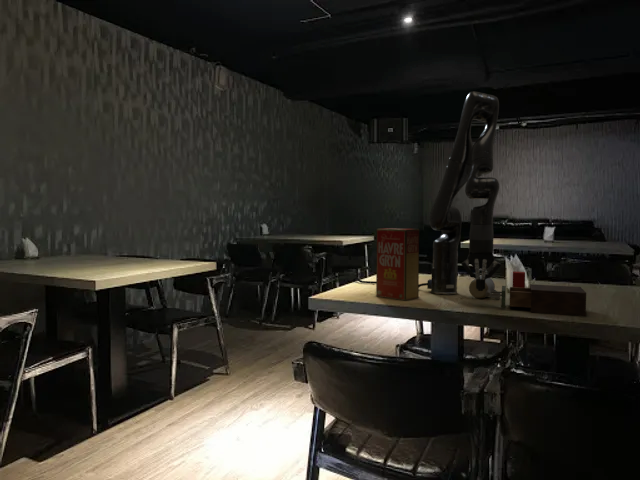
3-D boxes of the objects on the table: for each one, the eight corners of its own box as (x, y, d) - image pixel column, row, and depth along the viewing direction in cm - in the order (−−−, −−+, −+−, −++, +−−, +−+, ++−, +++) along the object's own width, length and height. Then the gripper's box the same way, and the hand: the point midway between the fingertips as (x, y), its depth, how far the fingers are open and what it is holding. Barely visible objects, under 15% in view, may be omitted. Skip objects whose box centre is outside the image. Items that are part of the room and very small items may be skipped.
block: (512, 300, 172) (512, 272, 172) (512, 299, 176) (512, 271, 176) (524, 301, 171) (525, 273, 170) (524, 299, 175) (524, 271, 174)
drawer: (484, 305, 158) (485, 289, 158) (486, 300, 169) (486, 284, 168) (549, 310, 151) (550, 293, 151) (546, 304, 162) (547, 288, 161)
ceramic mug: (467, 297, 178) (468, 276, 177) (473, 294, 184) (474, 274, 184) (497, 301, 172) (498, 279, 171) (503, 298, 179) (504, 277, 178)
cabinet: (530, 312, 153) (531, 289, 152) (529, 305, 164) (529, 284, 164) (585, 316, 147) (586, 292, 147) (579, 308, 159) (580, 286, 158)
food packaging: (374, 296, 180) (375, 228, 179) (389, 293, 187) (390, 227, 186) (405, 301, 171) (406, 229, 170) (419, 297, 178) (420, 228, 176)
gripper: (502, 238, 163) (501, 290, 164) (461, 237, 168) (460, 288, 168) (502, 239, 156) (501, 293, 157) (459, 238, 161) (458, 291, 161)
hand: (480, 290), depth 163 cm, fingers closed
